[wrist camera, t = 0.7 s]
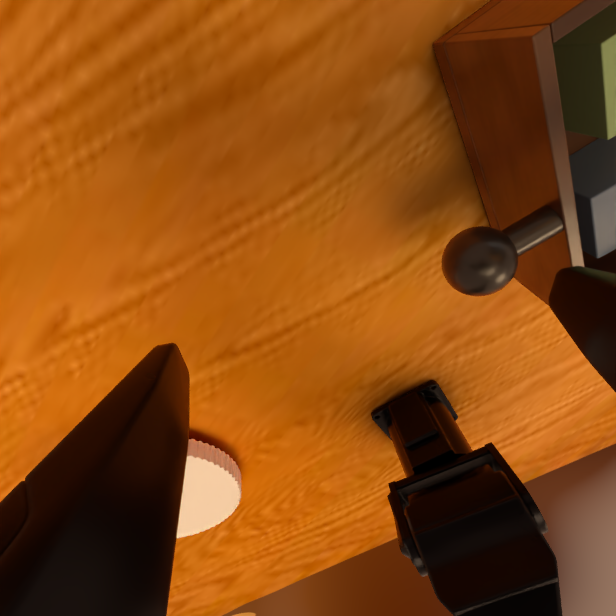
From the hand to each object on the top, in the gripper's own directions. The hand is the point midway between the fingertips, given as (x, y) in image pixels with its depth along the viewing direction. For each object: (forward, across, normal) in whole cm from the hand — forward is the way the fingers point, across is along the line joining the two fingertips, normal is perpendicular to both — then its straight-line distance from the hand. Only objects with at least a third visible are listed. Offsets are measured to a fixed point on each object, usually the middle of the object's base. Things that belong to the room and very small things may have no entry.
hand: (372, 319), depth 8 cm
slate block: (+12, -16, +3) cm, 20 cm away
